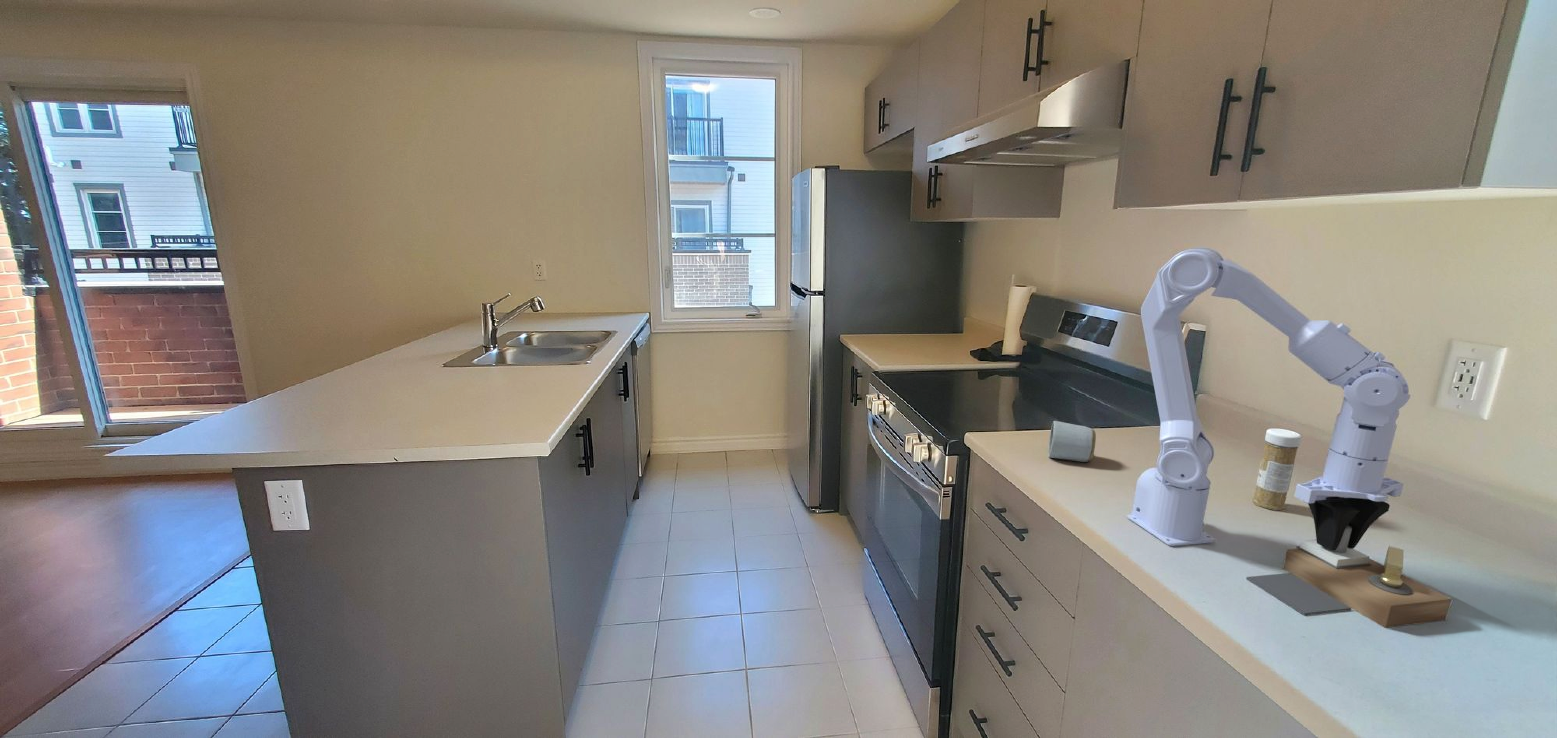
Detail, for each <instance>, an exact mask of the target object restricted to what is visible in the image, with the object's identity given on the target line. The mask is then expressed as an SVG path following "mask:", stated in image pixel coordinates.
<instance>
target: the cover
mask: <svg viewBox="0 0 1557 738" xmlns="http://www.w3.org/2000/svg"><path fill="white" fill-rule="evenodd" d="M1351 531H1352V527H1351V526H1349V525H1347V527H1346V529H1345V531H1344V533H1343V536H1342V539H1341V541H1340V544H1339V546H1338V547H1337V549H1336V550H1329V549H1327V548H1325V547H1323V546H1321V545H1319V544H1317V540H1316V539H1305V540H1304V539H1302V540H1300V544H1299V546H1300V548H1302V549H1304V550H1306V551H1308V552H1310V553H1312V554H1314V555H1316V556H1318V557H1319V558H1321V559H1323V560H1325V561H1327V562H1329V563H1331V564H1333V565H1335V566H1346V565H1356V564H1366V563H1368V561H1369V558H1370V556H1369V555H1367V554H1366V553H1363V552H1361V551H1359V550H1357V549H1355V548H1353V549H1350V548H1347V547H1348V543H1349V539H1350V535H1351Z"/></svg>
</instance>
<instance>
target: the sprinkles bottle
mask: <svg viewBox="0 0 1557 738" xmlns="http://www.w3.org/2000/svg"><path fill="white" fill-rule="evenodd" d="M1301 439H1302V436H1301V434H1300V433H1298V432H1296V431H1292V430H1291V429H1290V430H1288V429H1283V428H1269V429H1267V430H1266V433H1265V438H1264V440H1265V441H1264V442H1265V445H1264V448H1263V453H1262V458H1261V461H1260V463H1259V464H1260V465H1259V469H1258V473H1257V479H1256V483H1255V484H1256V485H1255V491H1254V496H1253V497H1252V502H1253V503H1254V504H1255V505H1256V506H1259V507H1260V508H1261V507H1262V508H1265V509H1269V510H1274V511H1281V510H1285V508H1286V501H1287V495H1288V492H1289V488H1290V484H1291V481H1292V477H1293V472H1294V467H1295V459H1296V455H1297V451H1298V449H1299V447H1300V446H1301Z"/></svg>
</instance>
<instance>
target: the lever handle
mask: <svg viewBox="0 0 1557 738" xmlns="http://www.w3.org/2000/svg"><path fill="white" fill-rule="evenodd" d="M1383 565H1384V569H1383V574H1381V575H1380V579H1379V581H1380V582H1381V583H1382V584H1384V585H1386V586H1389V587H1393V588H1401V586H1402V582H1403V580H1402V579H1400V577H1401V574H1402V572H1403V569H1404V549H1403V548H1399V547H1395V546H1391V545H1389V546H1388V548H1387V551H1386V555H1385V559H1384V563H1383Z"/></svg>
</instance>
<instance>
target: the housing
mask: <svg viewBox="0 0 1557 738" xmlns="http://www.w3.org/2000/svg"><path fill="white" fill-rule="evenodd" d="M1283 561H1284V562H1283V566H1282V569H1284V570H1285V571H1287V573H1292V574H1293V575H1295V576H1297V577H1299V578H1300V579H1302V580H1304V581H1306V582H1307V583H1309V584H1311V585H1313V586H1314V587H1316V588H1318V589H1319V590H1321V591H1323V592H1325V593H1326V594H1328V595H1330V596H1332V597H1333V598H1335V599H1337V600H1338V601H1340V602H1342V603H1344V604H1345V605H1347V606H1349V607H1351V610H1354V611H1356V612H1357V613H1358V614H1361V615H1363V616H1365V617H1366V618H1368V619H1370V620H1371V621H1373V622H1375V623H1377V624H1378V625H1380V626H1382V627H1383V628H1391V627H1400V626H1401V627H1402V626H1408V625H1409V626H1410V625H1416V624H1427V623H1434V622H1444V621H1447V618H1448V614H1449V611H1450V608H1451V605H1452V602H1453V598H1452V597H1449V596H1447V595H1444V594H1443V593H1441V592H1439V591H1437V590H1435V589H1434V588H1432V587H1431V588H1430V587H1429V586H1426V585H1424V584H1422V583H1421V582H1418V581H1416V580H1415V579H1412V578H1410V577H1408V576H1406V575H1405V574H1402V573H1401V577H1400V579H1402V580H1403V582H1402V586H1401V588H1393V587H1389V586H1386V585H1384V584H1382V583H1381V582H1380V581H1379V579H1380V575H1381V574H1383V569H1384V564H1382V563H1380V562H1378V561H1376V560H1374V559H1372V558H1370V557H1369V561H1368V563H1366V564H1356V565H1346V566H1335V565H1333V564H1331V563H1329V562H1327V561H1325V560H1323V559H1321V558H1319V557H1318V556H1316V555H1314V554H1312V553H1310V552H1308V551H1306V550H1304V549H1302V548H1300V545H1296V548H1287V549H1286V553H1285V558H1284V560H1283Z"/></svg>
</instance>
